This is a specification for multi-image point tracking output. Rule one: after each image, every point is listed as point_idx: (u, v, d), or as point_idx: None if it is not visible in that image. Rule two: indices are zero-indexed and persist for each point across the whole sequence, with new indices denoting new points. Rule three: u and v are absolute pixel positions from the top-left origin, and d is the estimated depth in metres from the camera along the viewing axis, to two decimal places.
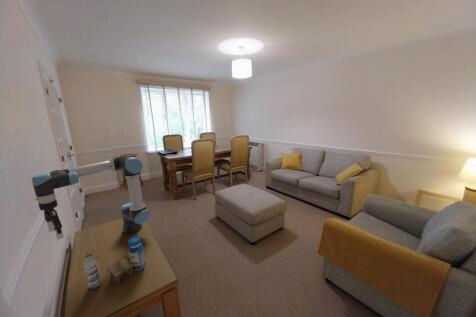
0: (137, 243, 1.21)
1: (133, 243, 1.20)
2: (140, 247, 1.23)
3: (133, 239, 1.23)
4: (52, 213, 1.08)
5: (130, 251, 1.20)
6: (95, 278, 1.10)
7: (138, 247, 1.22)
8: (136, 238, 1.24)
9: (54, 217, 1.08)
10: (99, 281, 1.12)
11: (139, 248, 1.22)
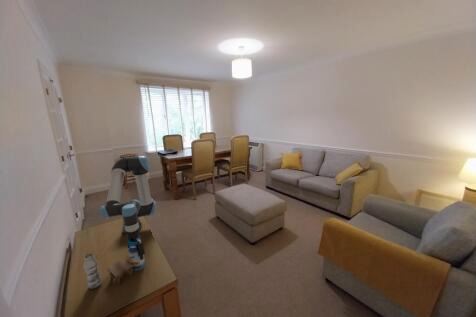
0: None
1: (133, 243, 1.20)
2: None
3: None
4: (139, 242, 1.18)
5: (130, 251, 1.20)
6: (95, 278, 1.10)
7: None
8: None
9: (140, 245, 1.19)
10: (99, 281, 1.12)
11: None
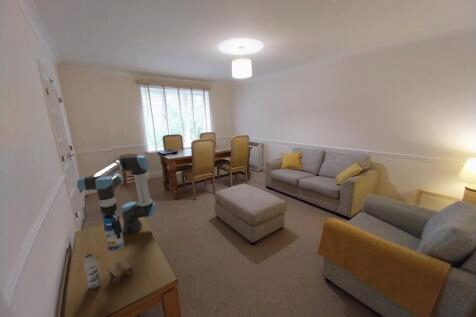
0: None
1: (109, 220, 1.07)
2: None
3: None
4: (115, 218, 1.06)
5: (105, 229, 1.08)
6: (95, 278, 1.10)
7: None
8: None
9: (116, 222, 1.07)
10: (99, 281, 1.12)
11: None
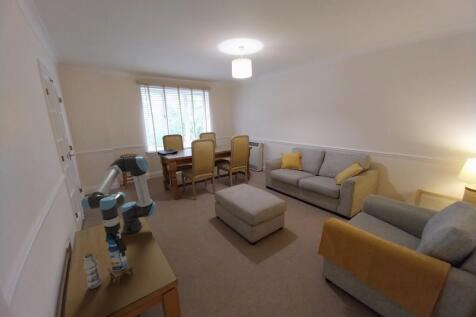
0: None
1: (113, 241, 1.10)
2: None
3: None
4: (118, 236, 1.08)
5: (110, 250, 1.11)
6: (95, 278, 1.10)
7: None
8: None
9: (120, 240, 1.09)
10: (99, 281, 1.12)
11: None
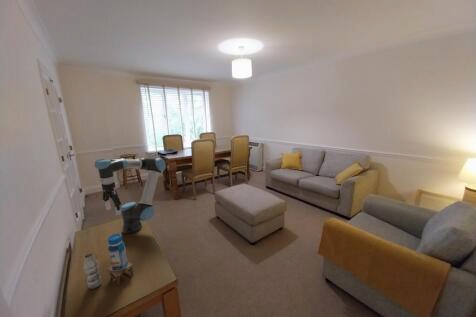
0: (118, 241, 1.12)
1: (113, 241, 1.10)
2: (121, 245, 1.14)
3: (114, 237, 1.14)
4: (113, 192, 1.28)
5: (110, 250, 1.11)
6: (95, 278, 1.10)
7: (119, 245, 1.13)
8: (117, 236, 1.15)
9: (115, 196, 1.28)
10: (99, 281, 1.12)
11: (120, 247, 1.13)
